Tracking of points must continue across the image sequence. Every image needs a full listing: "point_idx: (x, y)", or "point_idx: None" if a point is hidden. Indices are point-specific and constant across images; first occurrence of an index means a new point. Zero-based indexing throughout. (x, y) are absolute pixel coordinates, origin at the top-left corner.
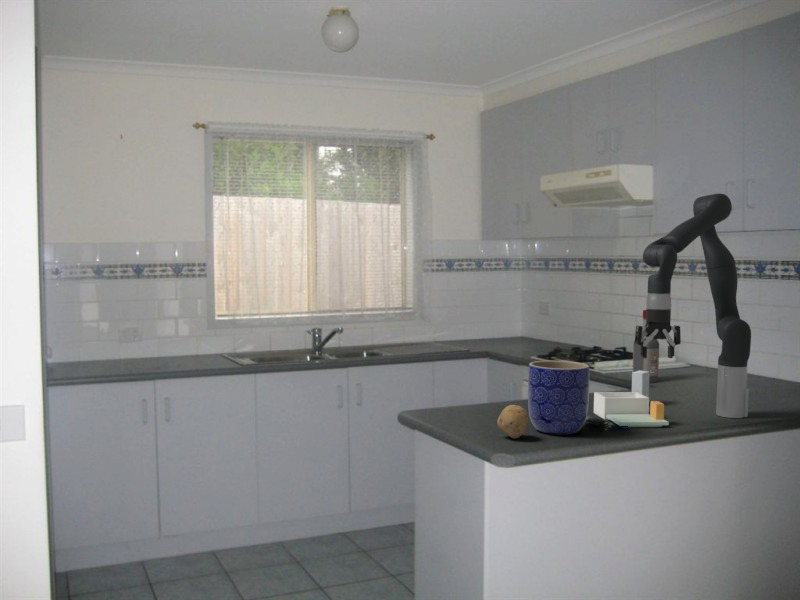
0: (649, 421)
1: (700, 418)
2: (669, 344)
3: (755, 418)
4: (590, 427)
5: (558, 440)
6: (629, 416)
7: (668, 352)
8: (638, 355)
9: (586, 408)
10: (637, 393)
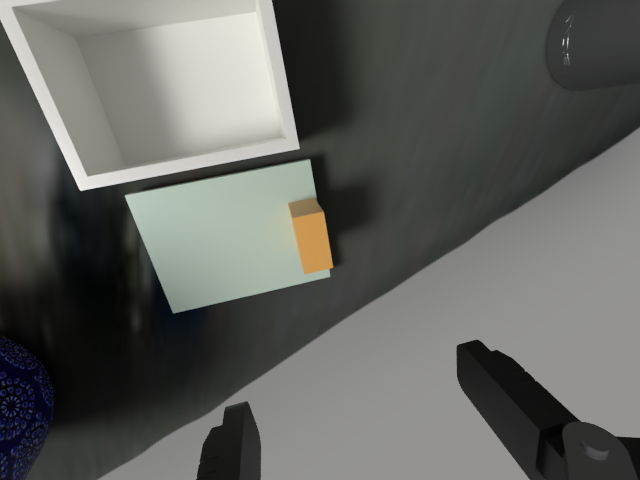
0: (272, 280)
1: (470, 103)
2: (562, 468)
3: None
4: (83, 310)
5: None
6: (213, 215)
7: (485, 385)
8: None
9: (26, 474)
10: (261, 10)
